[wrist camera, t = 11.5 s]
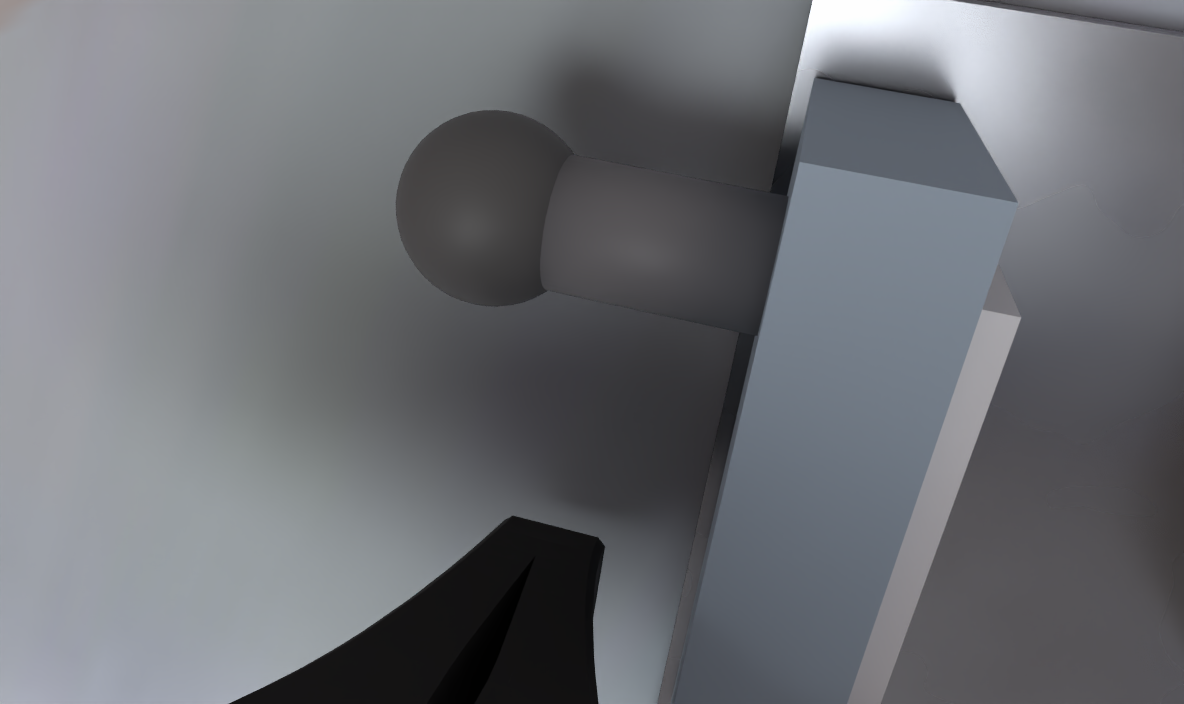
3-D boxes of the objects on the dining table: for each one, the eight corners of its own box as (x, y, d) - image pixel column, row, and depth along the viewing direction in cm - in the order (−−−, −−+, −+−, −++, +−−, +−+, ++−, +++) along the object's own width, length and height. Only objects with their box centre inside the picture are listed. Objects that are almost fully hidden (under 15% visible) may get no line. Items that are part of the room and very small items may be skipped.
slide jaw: (997, 109, 10) (1076, 213, 7) (793, 751, 15) (778, 1014, 11) (484, 20, 11) (323, 72, 8) (436, 651, 16) (319, 866, 12)
